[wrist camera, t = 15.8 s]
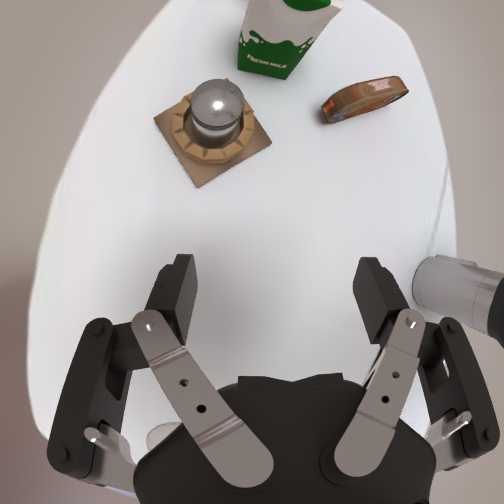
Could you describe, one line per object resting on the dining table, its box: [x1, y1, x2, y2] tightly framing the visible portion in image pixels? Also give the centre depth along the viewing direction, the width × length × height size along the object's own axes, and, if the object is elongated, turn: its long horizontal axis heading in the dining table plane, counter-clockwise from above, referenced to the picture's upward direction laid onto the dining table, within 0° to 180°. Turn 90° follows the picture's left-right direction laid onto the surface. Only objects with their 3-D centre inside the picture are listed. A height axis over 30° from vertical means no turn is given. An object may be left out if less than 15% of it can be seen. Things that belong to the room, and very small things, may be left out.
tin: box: [321, 76, 409, 123], centre depth 31 cm, size 15×3×8 cm, turn 116°
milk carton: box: [238, 0, 343, 80], centre depth 22 cm, size 9×9×20 cm
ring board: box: [154, 78, 272, 188], centre depth 30 cm, size 11×11×4 cm
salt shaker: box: [190, 79, 245, 148], centre depth 27 cm, size 5×5×9 cm
